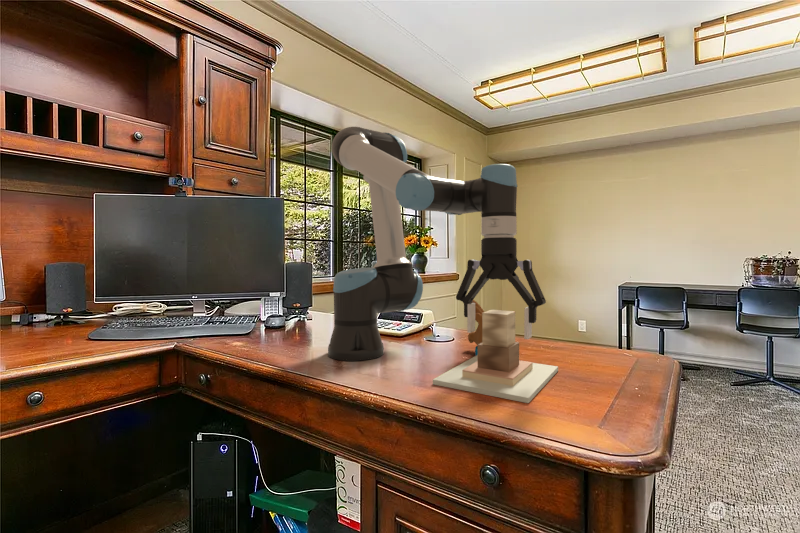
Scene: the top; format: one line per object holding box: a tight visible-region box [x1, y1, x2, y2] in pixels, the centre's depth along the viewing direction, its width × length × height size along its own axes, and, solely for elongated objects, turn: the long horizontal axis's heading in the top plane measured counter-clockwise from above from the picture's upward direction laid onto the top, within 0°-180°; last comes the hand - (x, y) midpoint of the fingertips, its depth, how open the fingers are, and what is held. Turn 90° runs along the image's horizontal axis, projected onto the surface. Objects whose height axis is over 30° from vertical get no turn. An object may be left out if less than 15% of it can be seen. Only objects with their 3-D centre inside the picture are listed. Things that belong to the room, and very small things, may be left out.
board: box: [432, 355, 559, 404], centre depth 89 cm, size 20×24×2 cm
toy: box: [467, 299, 485, 356], centre depth 110 cm, size 12×7×15 cm, turn 171°
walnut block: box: [477, 341, 520, 372], centre depth 89 cm, size 7×7×5 cm
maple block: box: [482, 309, 516, 348], centre depth 89 cm, size 6×6×7 cm
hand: (498, 334), depth 89 cm, fingers open, 12 cm apart
